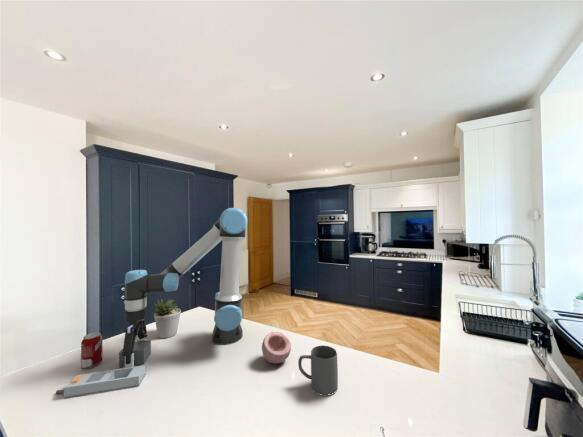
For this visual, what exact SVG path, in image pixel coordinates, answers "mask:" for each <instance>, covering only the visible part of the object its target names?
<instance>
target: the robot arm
mask: <svg viewBox="0 0 583 437" xmlns="http://www.w3.org/2000/svg"><path fill="white" fill-rule="evenodd" d="M220 214H221V215H220V217H219V219H218V220H217V221H216V222H215V223H214V224H213V227H212V228H210V230H208V232H206V233H205V234H204V235H203V236H202V237H201V238H200V239H198V240H197V241H196V242H195V243H194V244H193V245H192V246H190V247H189V248H188V249H187V250H186V251H185V252H184V253H182V254H181V255H180V256H179V257H178V258H176V260H174V261H173V262H172V263H170V265H169V266H167V267H166V268H165V269H164V270H163V271H162V272H161V273H158V274H157V273H156V274H148V271H147V270H146V269H135V270H130V271H128V272H126V273H125V275H124V276H125V278H124V279H125V280H124V301H123V304H124V321H126V322H128V323H129V324H128V327H125V329H124V331H125V332H124V341H123V346H122V349H123V352H122V357H123V356H125V368H129V367H135V366H134V353H133V348H134V344H135V342H136V341H144V340H146V339H147V338H148V331H147V324H146V317H147V315H148V314H147V311H148V310H147V304H148V303H147V302H148V301H147V300H148V296H147V295H148V294H154V293H155V294H156V293H165V292H167V293H169V292H174V291H175V292H176V291H177V290H178V288H179V283H180V282H179V280H180V278H181V277H183V276H184V274H185V273H187V272H188V271H189V270H190V269H192V267H193V266H195V265H196V264H197V263H198V262H199V261H200V260H201V259H202V258H204V257H205V255H207V254H208V253H210V251H212V250H213V249H214V248H215V247H216V246H217V245H218V244H219V243H220V242H222V245H221V260H220V261H221V262H220V263H221V265H220V279H219V280H220V281H219V291H218V292H216V293H215V295H214V300H215V302H214V316H213V320H214V327H213V330H212V333H211V342H213V343H214V344H217V345H229V344H233V343H236V342H238V341H240V340H241V339H242V338H243V336H244V334H243V333H244V332H243V328H242V325H241V323H242V321H243V320H242V319H243V310H242V308H243V306H242V305H243V295H241V294H240V279H241V262H242V244H243V241H244V239H246V229H247V225H248V217H247V215H246V213H245V211H243V210H242V209H241V208H238V207H228V208H226V209H224V210H223V212H221V213H220ZM136 338H138V339H137V340H136Z"/></svg>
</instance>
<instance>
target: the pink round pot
mask: <svg viewBox="0 0 583 437" xmlns="http://www.w3.org/2000/svg"><path fill="white" fill-rule="evenodd" d="M291 350H292V343H291V341H290V339H289V338H288V336H286V335H285V334H284V333H283V332H278V331H272V332H269V333H267V334H266V335H265V337H264V338H263V340H262V343H261V352H262V355H263V357H264V358H265V360H266V361H268V362H269V363H270V364H275V365H276V364H277V365H278V364H281V363H283V362H284V361H286V360H287V359H288V357H289V355H291Z"/></svg>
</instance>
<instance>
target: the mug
mask: <svg viewBox="0 0 583 437" xmlns="http://www.w3.org/2000/svg"><path fill="white" fill-rule="evenodd" d="M303 359H310V374H308V373H307V372H306V371H305V370H304V368H303V366H302V361H303ZM297 366H298V371H300V373H301V375H303V376H304V377H305V378H307V379H309V380H311V381H310V382H311V388H312V390H313V392H314V391H315V392H314V393H316V394H317V393H319V394H322V395H328V394H332V393H334V392H335V391H336V390H337V391H338V386H339V384H338V383H339V382H338V380H339V376H338V374H339V373H338V372H339V371H338V368H339V367H338V352H337V350H336V349H335V348H333V347H332V346H330V345H318V346H317V345H316V346H315V347H313V348H312V349H311V351H310V355H309V354H308V355H307V354H303V355H300V356H299V358H298V363H297ZM337 391H336V392H337ZM319 394H318V395H319ZM334 394H335V393H334ZM322 395H321V396H322Z"/></svg>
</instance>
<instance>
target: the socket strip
mask: <svg viewBox="0 0 583 437" xmlns="http://www.w3.org/2000/svg"><path fill="white" fill-rule="evenodd" d="M146 368H147V367H146V364H144V365H141V366H134V367H129V368H116V369H110V370H109V369H108V370H103V371H97V372H87V373H84V374H77V375H75V377H73V378H72V379H71V380H70V381H69V383H67V384H66V385H65V386H64V387H63V389H60V390H56V391H55V394H56V395H59V394H63V399H70V398H76V397H82V396H88V395H96V394H100V393H107V392H113V391H118V390H124V389H129V388H130V389H131V388H135V387H136V388H137V387H139V386H140V385H141V383H142V382H143V380H144V378H145V376H146V375H147V373H146V372H147V370H146Z"/></svg>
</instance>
